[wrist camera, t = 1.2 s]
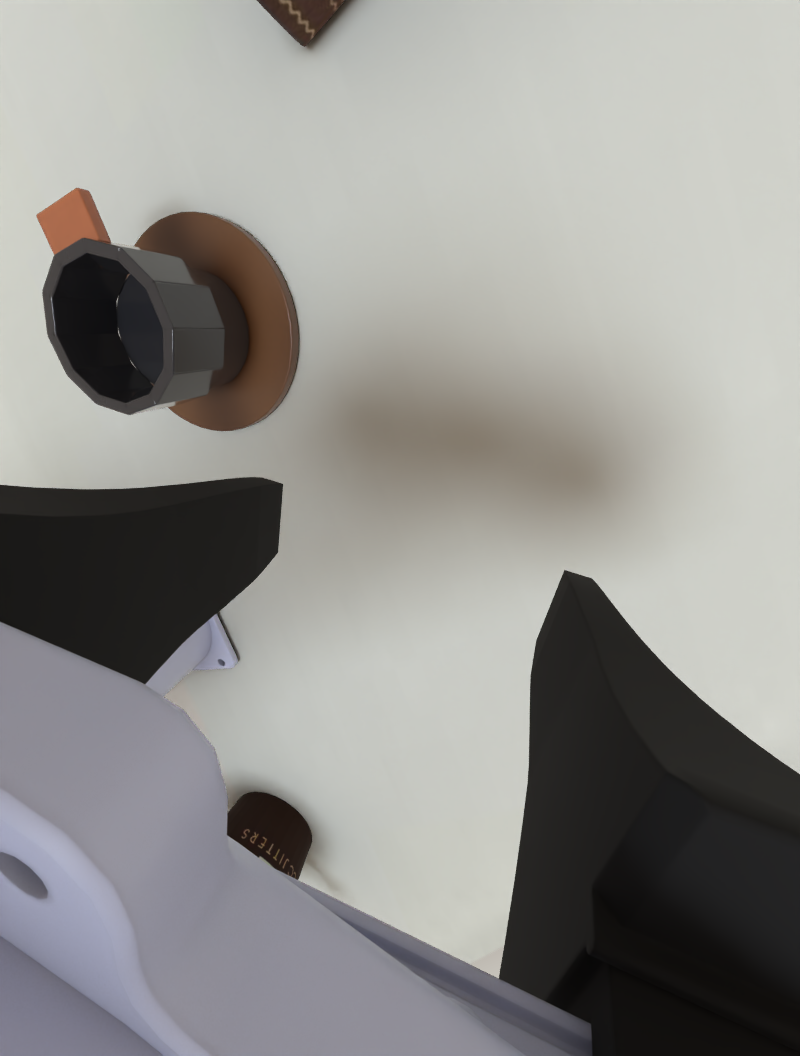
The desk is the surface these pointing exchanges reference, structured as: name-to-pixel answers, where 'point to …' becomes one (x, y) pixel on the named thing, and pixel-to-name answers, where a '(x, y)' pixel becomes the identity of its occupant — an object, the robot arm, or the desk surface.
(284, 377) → the brown flat disc
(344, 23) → the desk surface
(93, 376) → the dark grey cup
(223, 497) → the robot arm
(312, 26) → the book
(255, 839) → the coffee mug
